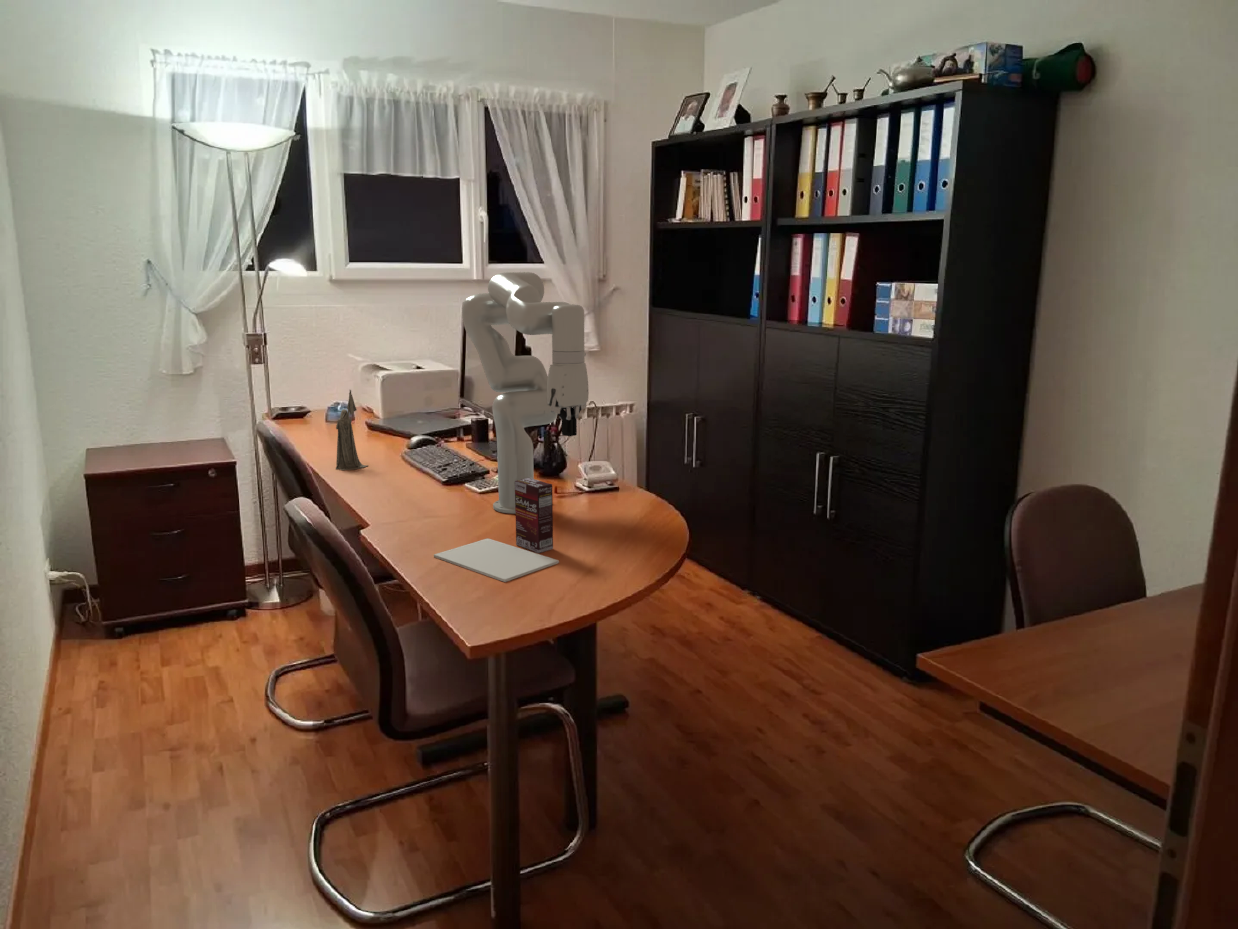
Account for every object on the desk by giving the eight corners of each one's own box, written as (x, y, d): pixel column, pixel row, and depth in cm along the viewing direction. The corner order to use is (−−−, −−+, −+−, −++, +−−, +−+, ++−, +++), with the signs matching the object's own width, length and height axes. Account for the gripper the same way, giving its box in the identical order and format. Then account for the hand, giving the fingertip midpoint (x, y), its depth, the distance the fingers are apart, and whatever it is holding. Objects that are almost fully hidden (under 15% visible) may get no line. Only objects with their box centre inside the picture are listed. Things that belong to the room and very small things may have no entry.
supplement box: (514, 545, 212) (513, 480, 208) (530, 541, 215) (529, 476, 212) (538, 554, 206) (537, 487, 202) (554, 549, 209) (553, 483, 206)
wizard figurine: (361, 462, 295) (355, 387, 290) (371, 467, 289) (366, 389, 283) (330, 466, 289) (324, 389, 284) (339, 471, 283) (333, 392, 277)
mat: (487, 540, 215) (487, 538, 215) (558, 563, 200) (558, 560, 200) (433, 557, 204) (433, 554, 203) (504, 582, 188) (504, 579, 188)
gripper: (579, 354, 217) (579, 428, 222) (533, 359, 206) (535, 437, 210) (602, 356, 213) (602, 432, 217) (556, 362, 201) (557, 442, 206)
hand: (569, 435), depth 214 cm, fingers closed
